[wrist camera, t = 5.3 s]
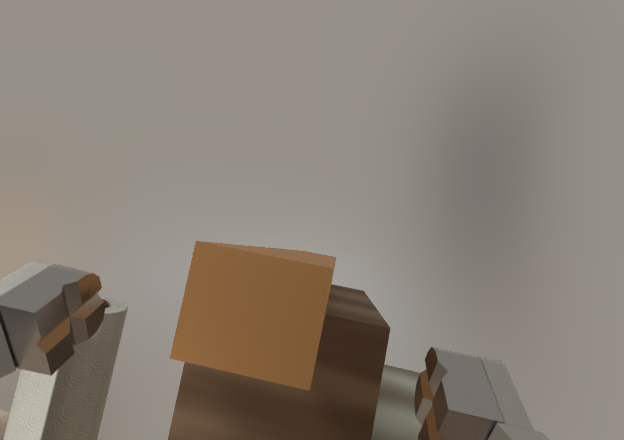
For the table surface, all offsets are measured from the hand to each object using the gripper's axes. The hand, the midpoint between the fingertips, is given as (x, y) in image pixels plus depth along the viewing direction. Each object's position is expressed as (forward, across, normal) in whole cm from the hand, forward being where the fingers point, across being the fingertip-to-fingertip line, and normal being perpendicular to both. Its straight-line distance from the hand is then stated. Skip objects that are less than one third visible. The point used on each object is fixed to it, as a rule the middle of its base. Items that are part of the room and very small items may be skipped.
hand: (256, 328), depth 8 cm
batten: (+9, 0, +6) cm, 11 cm away
